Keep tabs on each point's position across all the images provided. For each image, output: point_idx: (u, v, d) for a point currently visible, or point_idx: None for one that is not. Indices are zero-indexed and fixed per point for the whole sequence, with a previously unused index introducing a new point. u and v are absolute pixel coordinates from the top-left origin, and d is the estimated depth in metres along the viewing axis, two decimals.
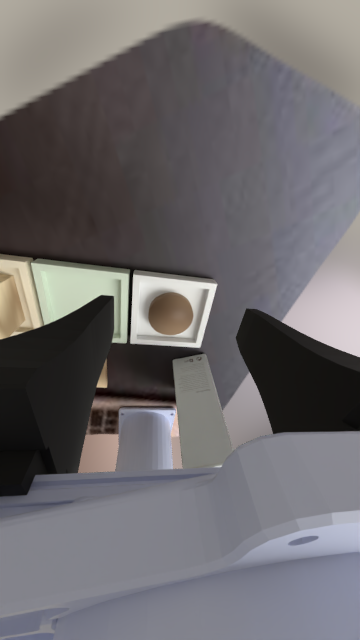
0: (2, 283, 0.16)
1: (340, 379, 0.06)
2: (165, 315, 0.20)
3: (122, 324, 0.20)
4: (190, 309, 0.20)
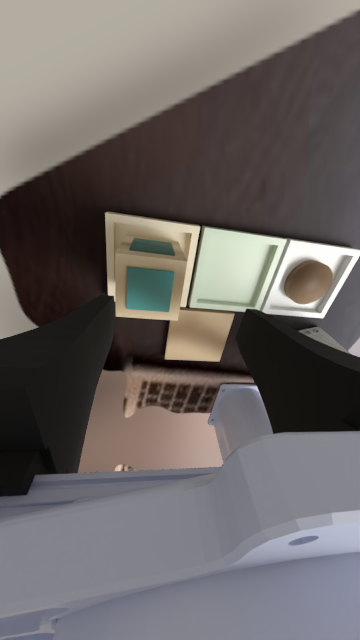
0: (180, 247, 0.17)
1: (340, 379, 0.06)
2: (306, 282, 0.21)
3: (262, 292, 0.21)
4: (331, 276, 0.21)
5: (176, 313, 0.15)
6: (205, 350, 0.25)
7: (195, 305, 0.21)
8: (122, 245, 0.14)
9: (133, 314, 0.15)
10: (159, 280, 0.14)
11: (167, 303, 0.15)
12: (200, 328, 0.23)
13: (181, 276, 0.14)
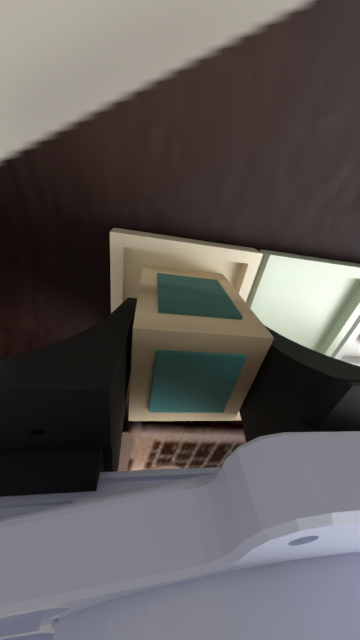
0: (231, 287, 0.10)
1: (300, 378, 0.06)
2: None
3: (334, 343, 0.15)
4: None
5: (234, 411, 0.09)
6: None
7: None
8: (142, 296, 0.08)
9: (160, 416, 0.08)
10: (214, 369, 0.07)
11: (222, 401, 0.08)
12: None
13: (256, 361, 0.07)
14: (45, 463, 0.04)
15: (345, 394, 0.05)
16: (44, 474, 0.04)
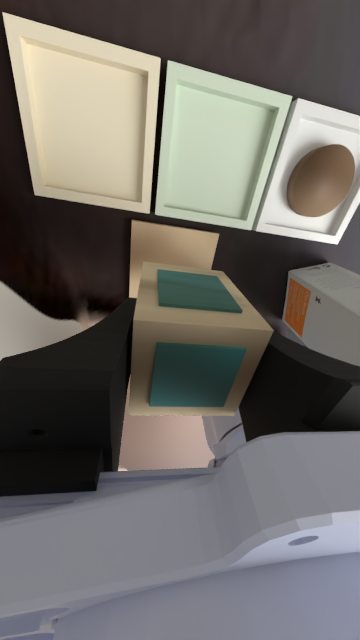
0: (231, 283, 0.11)
1: (300, 378, 0.06)
2: (318, 179, 0.15)
3: (256, 195, 0.15)
4: (352, 170, 0.15)
5: (234, 406, 0.09)
6: None
7: (162, 211, 0.15)
8: (142, 291, 0.08)
9: (160, 411, 0.08)
10: (214, 362, 0.07)
11: (222, 395, 0.08)
12: (173, 255, 0.17)
13: (256, 354, 0.07)
14: (45, 463, 0.04)
15: (345, 394, 0.05)
16: (44, 474, 0.04)
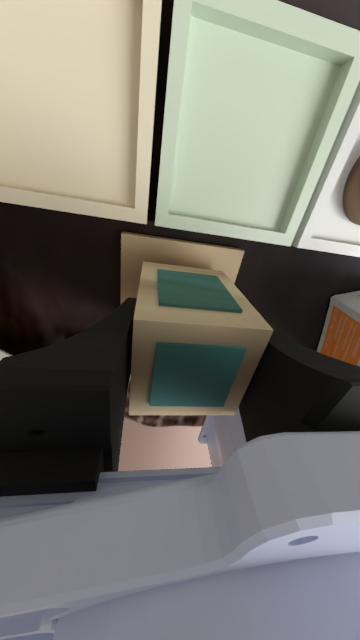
0: (231, 283, 0.11)
1: (300, 378, 0.06)
2: None
3: (302, 197, 0.10)
4: None
5: (234, 406, 0.09)
6: None
7: (166, 221, 0.10)
8: (142, 290, 0.08)
9: (160, 410, 0.08)
10: (214, 362, 0.07)
11: (222, 394, 0.08)
12: None
13: (256, 354, 0.07)
14: (45, 463, 0.04)
15: (345, 394, 0.05)
16: (44, 474, 0.04)
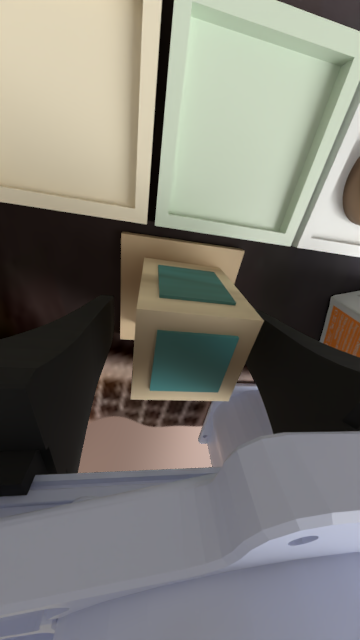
0: (227, 279, 0.11)
1: (340, 379, 0.06)
2: None
3: (302, 197, 0.10)
4: None
5: (228, 392, 0.09)
6: None
7: (166, 221, 0.10)
8: (144, 284, 0.09)
9: (160, 395, 0.09)
10: (210, 350, 0.08)
11: (217, 381, 0.09)
12: None
13: (248, 342, 0.08)
14: None
15: None
16: None
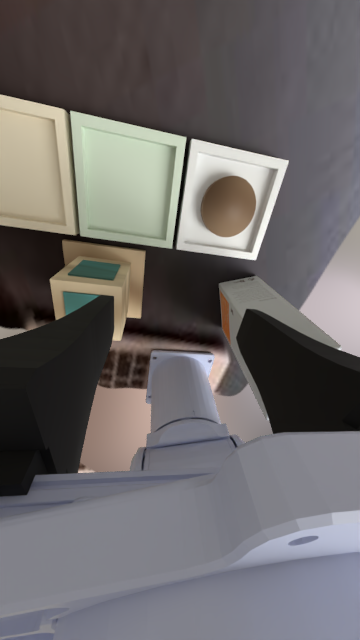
0: (129, 268, 0.18)
1: (340, 379, 0.06)
2: (223, 204, 0.17)
3: (170, 218, 0.17)
4: (253, 197, 0.17)
5: (118, 334, 0.16)
6: None
7: (87, 233, 0.17)
8: (65, 269, 0.15)
9: None
10: None
11: None
12: None
13: (118, 300, 0.14)
14: None
15: None
16: None
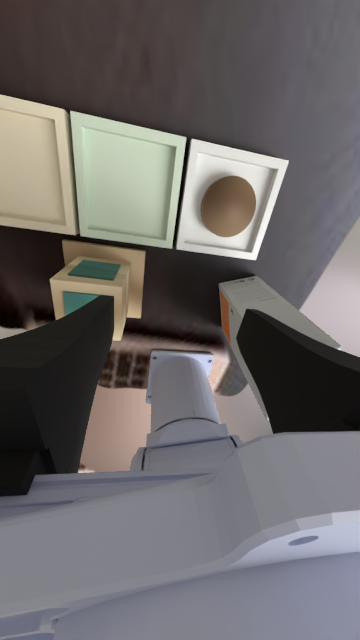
0: (129, 268, 0.18)
1: (340, 379, 0.06)
2: (223, 204, 0.17)
3: (170, 218, 0.17)
4: (253, 197, 0.17)
5: (118, 334, 0.16)
6: None
7: (87, 233, 0.17)
8: (65, 269, 0.15)
9: None
10: None
11: None
12: None
13: (118, 300, 0.14)
14: None
15: None
16: None
